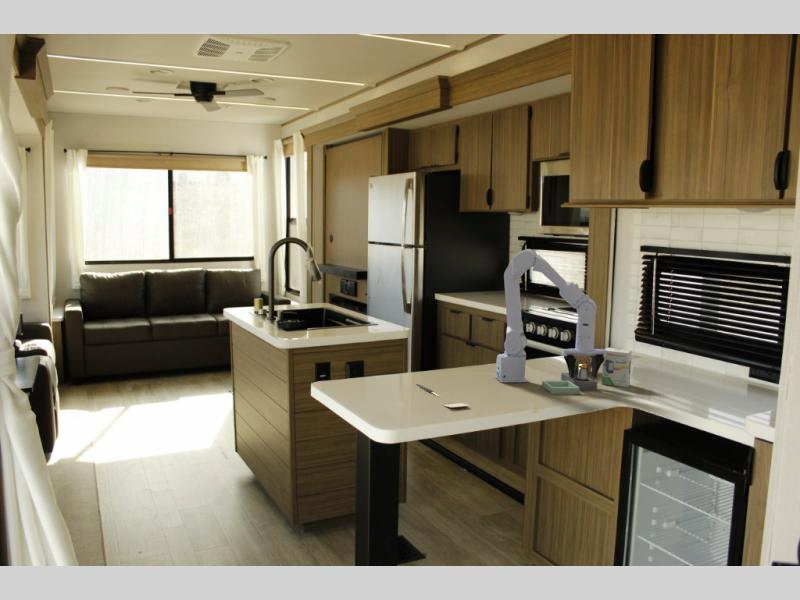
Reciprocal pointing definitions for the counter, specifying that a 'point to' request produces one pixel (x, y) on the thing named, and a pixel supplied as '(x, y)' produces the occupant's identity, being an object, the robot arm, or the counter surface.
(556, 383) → the tray
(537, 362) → the counter surface
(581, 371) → the pin
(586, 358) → the tin
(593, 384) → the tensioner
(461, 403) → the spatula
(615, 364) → the ink box
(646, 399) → the counter surface
